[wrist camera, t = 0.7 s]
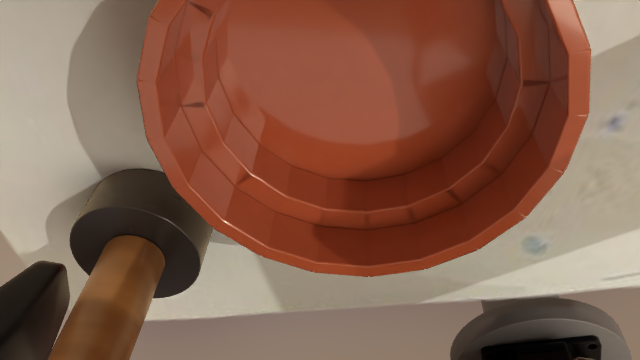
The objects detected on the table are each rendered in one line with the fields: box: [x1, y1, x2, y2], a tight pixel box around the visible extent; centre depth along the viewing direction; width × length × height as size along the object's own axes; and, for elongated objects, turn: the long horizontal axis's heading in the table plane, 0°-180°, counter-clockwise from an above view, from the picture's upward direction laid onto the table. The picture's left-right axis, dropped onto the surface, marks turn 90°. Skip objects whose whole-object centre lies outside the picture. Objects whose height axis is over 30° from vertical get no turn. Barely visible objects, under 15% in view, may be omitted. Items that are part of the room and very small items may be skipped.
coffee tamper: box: [48, 169, 213, 360], centre depth 22 cm, size 6×6×10 cm
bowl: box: [137, 0, 591, 277], centre depth 19 cm, size 13×13×4 cm
